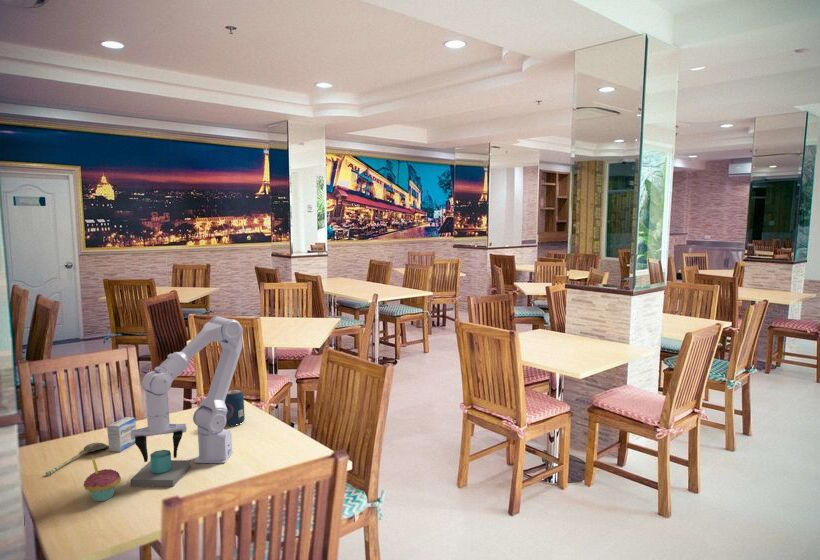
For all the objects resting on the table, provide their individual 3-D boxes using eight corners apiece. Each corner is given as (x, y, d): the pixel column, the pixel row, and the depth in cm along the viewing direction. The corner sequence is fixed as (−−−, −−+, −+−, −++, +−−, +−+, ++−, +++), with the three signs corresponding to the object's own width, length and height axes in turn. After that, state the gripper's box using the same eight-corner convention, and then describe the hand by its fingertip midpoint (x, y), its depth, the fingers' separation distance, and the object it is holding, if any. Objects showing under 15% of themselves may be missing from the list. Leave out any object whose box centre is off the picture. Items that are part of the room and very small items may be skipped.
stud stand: (191, 466, 164) (189, 447, 163) (173, 486, 152) (172, 466, 151) (151, 466, 164) (150, 447, 163) (130, 486, 152) (129, 466, 151)
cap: (169, 463, 161) (169, 448, 161) (172, 470, 157) (171, 455, 156) (150, 466, 158) (149, 452, 158) (152, 474, 154) (151, 459, 153)
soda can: (220, 424, 196) (219, 392, 195) (235, 418, 202) (234, 387, 201) (233, 428, 193) (232, 395, 191) (248, 421, 199) (247, 390, 197)
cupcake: (83, 507, 141) (79, 463, 140) (87, 492, 149) (84, 450, 147) (120, 500, 145) (117, 457, 143) (123, 486, 152) (120, 445, 151)
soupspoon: (114, 449, 179) (97, 448, 180) (113, 439, 179) (96, 438, 180) (56, 478, 158) (38, 476, 159) (55, 467, 157) (37, 465, 159)
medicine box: (120, 452, 174) (118, 426, 173) (108, 451, 175) (106, 425, 174) (137, 442, 181) (136, 417, 180) (126, 441, 182) (124, 416, 181)
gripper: (186, 405, 162) (188, 449, 163) (131, 411, 157) (134, 456, 159) (184, 413, 155) (187, 459, 157) (128, 420, 150) (131, 467, 152)
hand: (160, 458), depth 157 cm, fingers open, 7 cm apart
